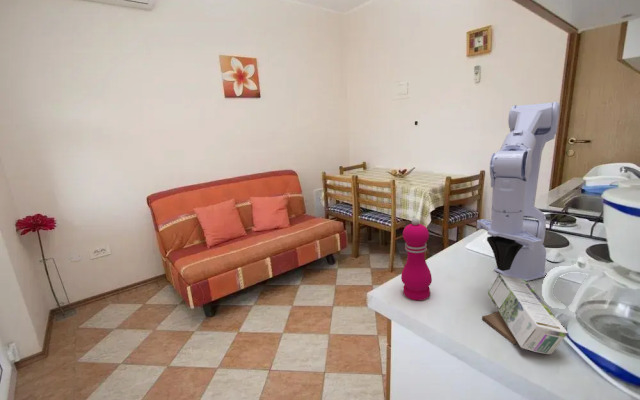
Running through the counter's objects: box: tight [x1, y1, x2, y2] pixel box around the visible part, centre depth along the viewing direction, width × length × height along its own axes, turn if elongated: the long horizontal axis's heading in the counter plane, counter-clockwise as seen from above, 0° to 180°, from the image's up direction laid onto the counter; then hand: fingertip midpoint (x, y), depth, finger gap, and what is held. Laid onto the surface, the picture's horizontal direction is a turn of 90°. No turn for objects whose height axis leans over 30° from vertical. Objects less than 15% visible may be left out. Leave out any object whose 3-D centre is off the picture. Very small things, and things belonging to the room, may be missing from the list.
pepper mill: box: [400, 217, 433, 301], centre depth 74 cm, size 7×7×20 cm
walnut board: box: [481, 311, 518, 345], centre depth 62 cm, size 12×8×1 cm, turn 105°
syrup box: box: [487, 273, 569, 355], centre depth 59 cm, size 6×6×14 cm
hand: (503, 268), depth 66 cm, fingers closed
